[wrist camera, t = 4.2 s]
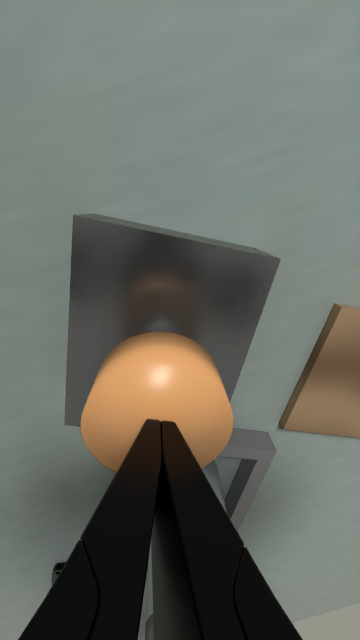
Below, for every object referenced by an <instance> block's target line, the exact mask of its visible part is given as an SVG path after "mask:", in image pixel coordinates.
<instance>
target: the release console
mask: <svg viewBox="0 0 360 640" xmlns="http://www.w3.org/2000/svg"><path fill="white" fill-rule="evenodd" d="M280 260H281V259H280V258H277V257H275V256H272V255H270V254H268V253H265V252H263V251H260V250H258V249H256V248H251V247H246V246H242V245H237V244H232V243H228V242H223V241H218V240H214V239H209V238H204V237H200V236H195V235H190V234H186V233H181V232H176V231H172V230H167V229H162V228H158V227H153V226H149V225H144V224H139V223H135V222H130V221H125V220H121V219H116V218H111V217H107V216H102V215H97V214H81V215H73V232H72V256H71V280H70V304H69V329H68V353H67V377H66V401H65V425H70V426H80V427H81V417H82V412H83V410H84V407H85V404H86V402H87V399H88V397H89V394H90V392H91V389H92V387H93V384H94V382H95V379H96V376H97V374H98V371H99V369H100V366H101V364H102V362H103V361H104V359H105V357H106V356H107V355H108V353H109V352H110V351H111V350H112V349H113V348H114V347H116V346H117V345H118V344H120V343H121V342H123V341H125V340H126V339H128V338H131V337H133V336H136V335H139V334H143V333H149V332H170V333H175V334H179V335H182V336H185V337H188V338H190V339H192V340H194V341H195V342H197V343H198V344H200V345H201V346H202V347H203V348H205V349H206V350H207V351H208V353H209V354H210V355H211V356H212V358H213V360H214V361H215V364H216V366H217V368H218V371H219V374H220V377H221V380H222V383H223V386H224V389H225V391H226V394H227V397H228V400H229V403H230V400H231V397H232V395H233V392H234V389H235V386H236V383H237V381H238V378H239V375H240V372H241V369H242V366H243V364H244V361H245V358H246V355H247V352H248V350H249V347H250V344H251V341H252V338H253V336H254V333H255V330H256V327H257V324H258V321H259V319H260V316H261V313H262V310H263V307H264V305H265V302H266V299H267V296H268V293H269V291H270V288H271V285H272V282H273V279H274V276H275V274H276V271H277V268H278V265H279V262H280Z"/></svg>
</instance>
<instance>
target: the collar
mask: <svg viewBox="0 0 360 640" xmlns="http://www.w3.org/2000/svg"><path fill="white" fill-rule="evenodd" d="M276 451H277V450H276V448H275V446H274V444H273V442H272V440H271V438H270V436H269V434H268V432H260V431H251V430H241V429H233V430H232V433H231V437H230V439H229V441H228V443H227V445H226V446H225V448H224V450H223V451H222V452H221V453H220V454H219V455H218V456H221V457H232V458H243V460H242V462H241V465H240V467H239V469H238V472H237V474H236V476H235V479H234V481H233V483H232V486H231V488H230V490H229V493H228V495H227V497H226V500H225V507H226V512H227V515H228V516H229V518H230V520H231V522H232V523H233V525H234V527H235V529H236V530H238V528H239V526H240V524H241V522H242V520H243V518H244V516H245V514H246V512H247V510H248V508H249V506H250V504H251V502H252V500H253V498H254V496H255V494H256V492H257V490H258V488H259V486H260V483H261V481H262V479H263V477H264V475H265V473H266V471H267V469H268V467H269V465H270V463H271V461H272V459H273V457H274V455H275V453H276Z"/></svg>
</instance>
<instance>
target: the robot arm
mask: <svg viewBox="0 0 360 640" xmlns="http://www.w3.org/2000/svg"><path fill="white" fill-rule="evenodd" d="M150 544H151V550H152V588H153V627H154V640H303V639H302V638H301V636H300V635H299V633H298V632H297V630H296V629H295V627H294V626H293V624H292V622H291V621H290V619H289V618H288V616H287V615H286V613H285V612H284V610H283V609H282V607H281V606H280V604H279V602H278V601H277V599H276V598H275V596H274V594H273V593H272V591H271V589H270V588H269V586H268V584H267V583H266V581H265V579H264V577H263V576H262V574H261V572H260V571H259V569H258V567H257V566H256V564H255V562H254V560H253V559H252V557H251V555H250V553H249V551H248V550H247V548H246V547H244V543H243V541H242V539H241V538H240V536H239V534H238V532H237V530H236V529H235V527H234V525H233V523H232V522H231V520H230V518H229V516H228V515H227V513H226V511H225V509H224V508H223V506H222V504H221V502H220V500H219V499H218V497H217V495H216V493H215V492H214V490H213V488H212V486H211V485H210V483H209V481H208V479H207V478H206V476H205V474H204V472H203V470H202V469H201V467H200V465H199V463H198V462H197V460H196V458H195V456H194V455H193V453H192V451H191V449H190V448H189V446H188V444H187V442H186V440H185V439H184V437H183V435H182V433H181V432H180V430H179V428H178V426H177V425H176V423H175V422H173V421H165V420H162V421H161V422H160V420H156V419H146V421H145V422H144V424H143V426H142V428H141V430H140V431H139V433H138V435H137V437H136V438H135V440H134V442H133V444H132V446H131V447H130V449H129V451H128V453H127V455H126V456H125V458H124V460H123V462H122V464H121V465H120V467H119V469H118V471H117V473H116V474H115V476H114V478H113V480H112V482H111V483H110V485H109V487H108V489H107V491H106V492H105V494H104V496H103V498H102V500H101V501H100V503H99V505H98V507H97V509H96V510H95V512H94V514H93V516H92V517H91V519H90V521H89V523H88V525H87V526H86V528H85V530H84V532H83V534H82V535H81V538H80V540H79V541H78V542H77V544H76V546H75V548H74V549H73V551H72V553H71V555H70V556H69V558H68V560H67V562H66V564H58V565H55V566H54V569H53V573H52V587H51V589H50V591H49V592H48V594H47V596H46V597H45V599H44V600H43V602H42V604H41V605H40V607H39V608H38V610H37V611H36V613H35V614H34V616H33V617H32V619H31V621H30V622H29V624H28V625H27V627H26V628H25V630H24V631H23V633H22V634H21V636H20V638H19V639H18V640H137V639H138V632H139V625H140V617H141V610H142V603H143V595H144V588H145V581H146V573H147V566H148V559H149V551H150ZM243 547H244V548H243Z"/></svg>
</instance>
